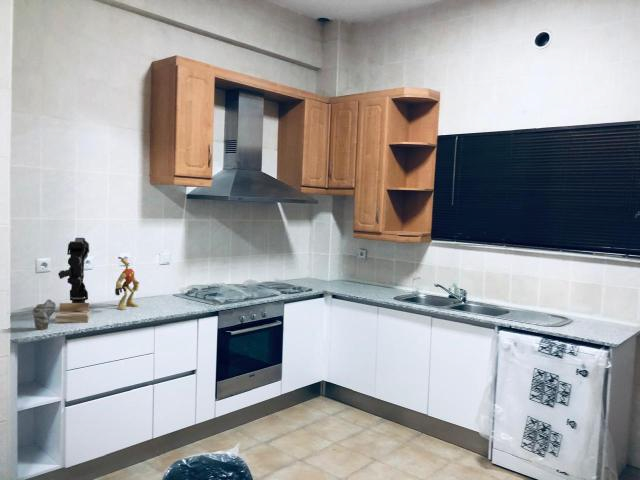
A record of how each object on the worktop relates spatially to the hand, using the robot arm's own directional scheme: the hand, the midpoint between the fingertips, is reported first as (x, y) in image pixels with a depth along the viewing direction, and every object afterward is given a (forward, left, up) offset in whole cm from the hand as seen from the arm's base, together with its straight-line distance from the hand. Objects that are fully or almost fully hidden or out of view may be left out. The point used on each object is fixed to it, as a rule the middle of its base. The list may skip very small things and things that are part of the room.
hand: (75, 293), depth 287 cm
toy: (-30, +5, -12) cm, 32 cm away
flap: (+5, +5, -6) cm, 9 cm away
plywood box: (+9, +9, -12) cm, 17 cm away
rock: (+27, +11, -12) cm, 32 cm away
